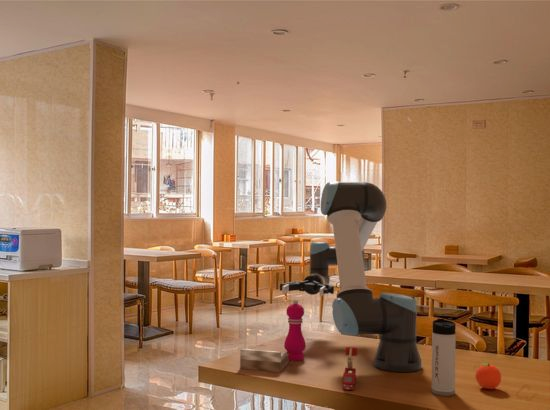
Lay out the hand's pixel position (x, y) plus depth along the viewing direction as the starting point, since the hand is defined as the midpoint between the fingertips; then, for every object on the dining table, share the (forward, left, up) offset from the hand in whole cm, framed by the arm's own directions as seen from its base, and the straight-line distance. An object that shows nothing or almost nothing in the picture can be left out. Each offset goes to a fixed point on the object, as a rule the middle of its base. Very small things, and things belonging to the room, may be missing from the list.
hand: (301, 291), depth 208 cm
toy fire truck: (-22, +33, -22) cm, 45 cm away
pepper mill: (0, +10, -21) cm, 24 cm away
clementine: (-60, +25, -21) cm, 69 cm away
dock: (+7, +22, -21) cm, 31 cm away
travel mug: (-48, +33, -21) cm, 62 cm away
